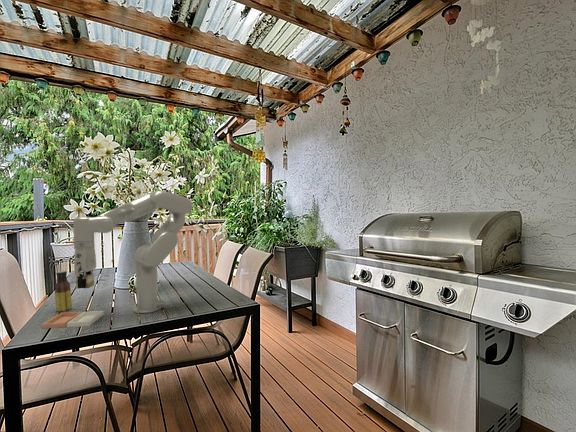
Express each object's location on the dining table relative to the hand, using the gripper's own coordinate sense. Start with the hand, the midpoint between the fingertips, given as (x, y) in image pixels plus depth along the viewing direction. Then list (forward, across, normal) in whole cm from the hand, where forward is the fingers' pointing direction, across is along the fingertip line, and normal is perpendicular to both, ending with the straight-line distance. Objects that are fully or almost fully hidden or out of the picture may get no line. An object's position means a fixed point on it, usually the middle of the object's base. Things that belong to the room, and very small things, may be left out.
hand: (85, 285), depth 138 cm
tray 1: (+16, 0, +9) cm, 19 cm away
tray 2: (+16, 0, 0) cm, 16 cm away
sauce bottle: (+16, +16, +17) cm, 29 cm away
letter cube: (0, 0, 0) cm, 0 cm away
